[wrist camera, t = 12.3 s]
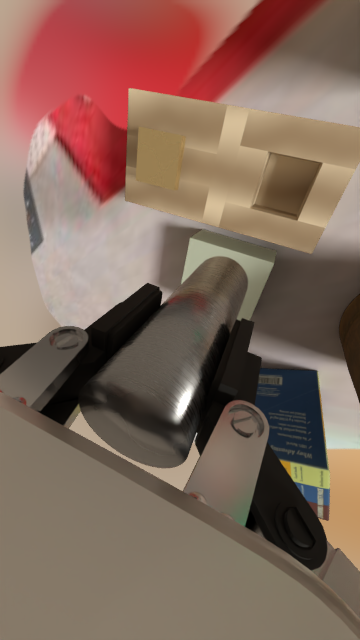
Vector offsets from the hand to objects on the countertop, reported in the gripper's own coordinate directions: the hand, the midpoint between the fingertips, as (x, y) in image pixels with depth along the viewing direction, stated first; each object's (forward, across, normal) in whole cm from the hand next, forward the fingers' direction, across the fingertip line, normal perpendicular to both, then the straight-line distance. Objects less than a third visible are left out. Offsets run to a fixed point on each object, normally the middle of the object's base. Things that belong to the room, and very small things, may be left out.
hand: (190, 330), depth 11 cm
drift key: (+22, +10, -5) cm, 25 cm away
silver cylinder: (+6, 0, 0) cm, 6 cm away
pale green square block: (+24, +1, +7) cm, 25 cm away
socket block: (+24, +4, -5) cm, 25 cm away
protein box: (+24, -12, +24) cm, 37 cm away
